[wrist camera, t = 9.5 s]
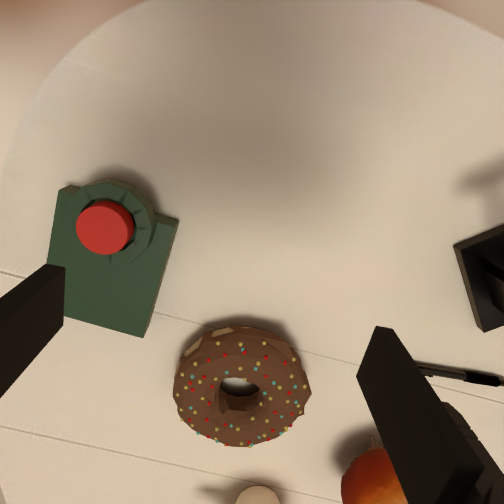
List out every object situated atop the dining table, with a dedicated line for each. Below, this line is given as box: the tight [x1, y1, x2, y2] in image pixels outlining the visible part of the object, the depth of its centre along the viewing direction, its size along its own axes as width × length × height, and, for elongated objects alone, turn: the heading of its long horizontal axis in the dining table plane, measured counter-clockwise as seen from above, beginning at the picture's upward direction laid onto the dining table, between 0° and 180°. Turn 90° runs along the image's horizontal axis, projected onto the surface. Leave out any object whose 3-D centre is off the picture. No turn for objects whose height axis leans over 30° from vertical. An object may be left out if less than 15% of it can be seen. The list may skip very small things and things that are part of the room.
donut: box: [173, 325, 312, 448], centre depth 38 cm, size 14×14×5 cm
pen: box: [417, 364, 504, 387], centre depth 40 cm, size 14×2×1 cm, turn 79°
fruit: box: [341, 435, 408, 504], centre depth 40 cm, size 10×9×10 cm
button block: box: [47, 179, 179, 338], centre depth 33 cm, size 14×10×4 cm
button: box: [76, 201, 134, 255], centre depth 29 cm, size 4×4×2 cm
